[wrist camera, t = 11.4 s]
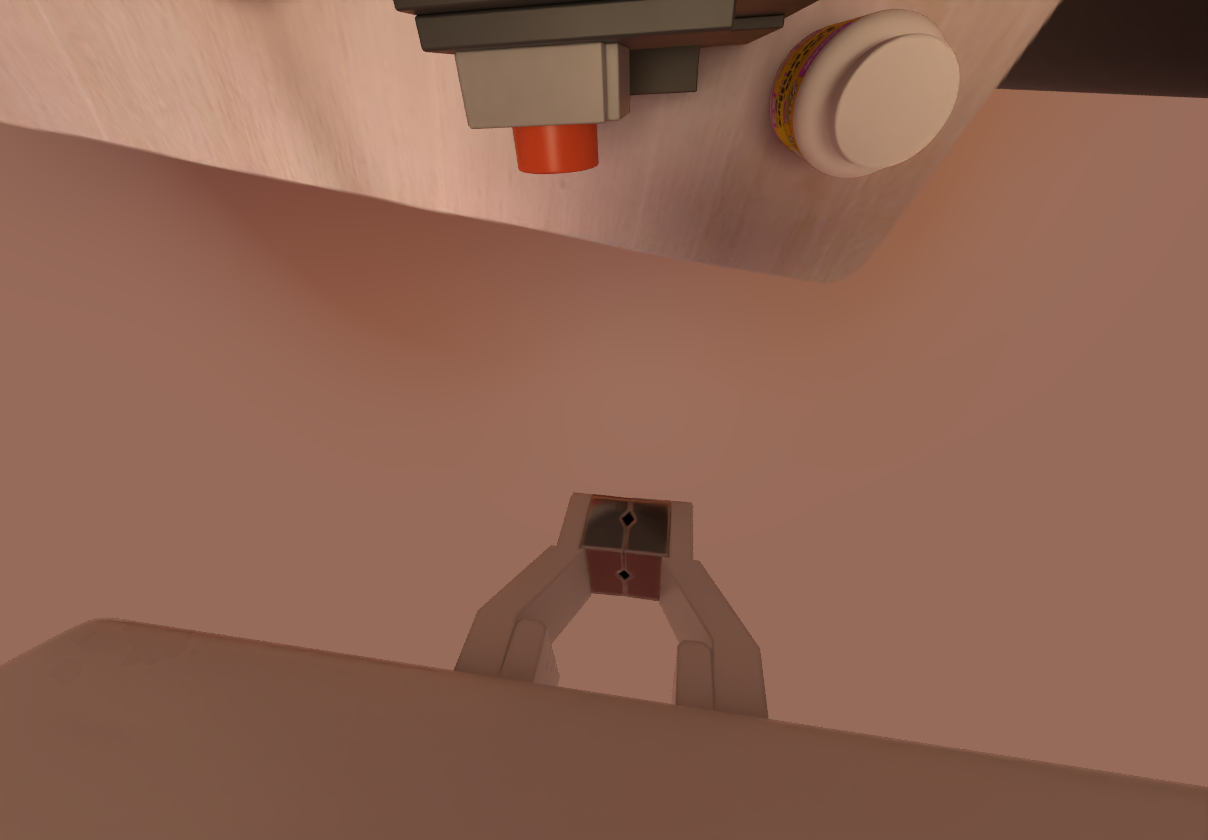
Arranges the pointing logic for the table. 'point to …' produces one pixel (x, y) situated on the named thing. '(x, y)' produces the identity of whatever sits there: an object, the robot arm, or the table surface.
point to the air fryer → (581, 51)
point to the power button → (556, 148)
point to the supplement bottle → (865, 92)
